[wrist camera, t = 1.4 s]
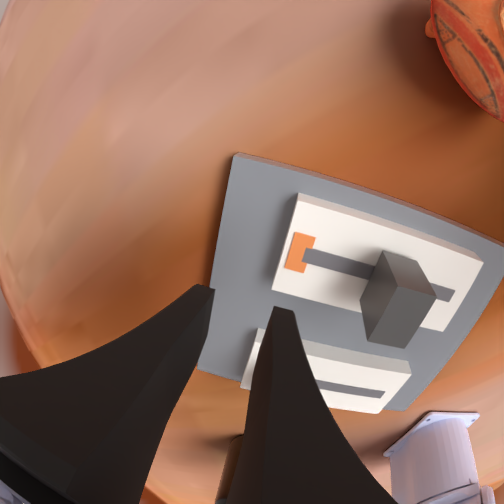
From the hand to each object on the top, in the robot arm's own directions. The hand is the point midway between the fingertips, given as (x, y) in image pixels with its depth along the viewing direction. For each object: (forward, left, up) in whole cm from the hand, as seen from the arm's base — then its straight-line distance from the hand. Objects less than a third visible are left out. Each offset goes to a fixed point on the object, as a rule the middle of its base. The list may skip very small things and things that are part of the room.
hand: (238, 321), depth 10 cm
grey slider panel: (-4, -7, -8) cm, 12 cm away
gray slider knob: (0, -6, -5) cm, 9 cm away
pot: (+14, -9, -9) cm, 18 cm away
